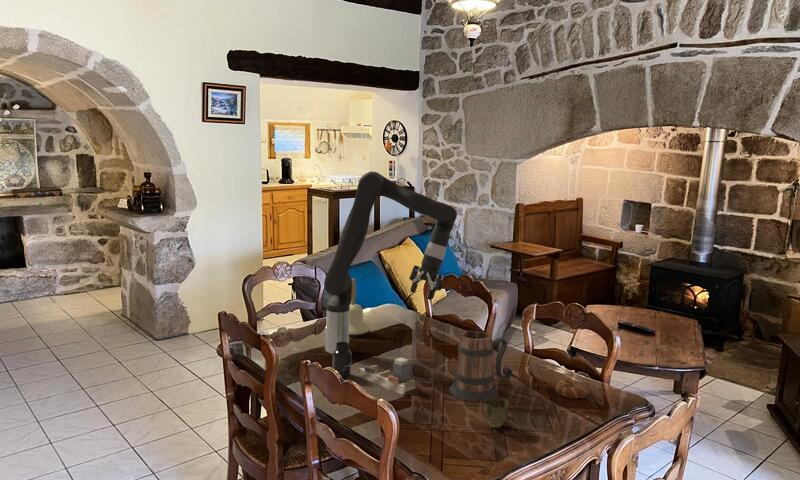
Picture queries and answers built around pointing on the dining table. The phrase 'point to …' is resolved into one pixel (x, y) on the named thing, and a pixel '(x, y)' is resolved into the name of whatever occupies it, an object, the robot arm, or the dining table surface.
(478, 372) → the tankard
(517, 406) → the dining table surface
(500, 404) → the cup
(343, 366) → the supplement bottle
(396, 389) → the dock
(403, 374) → the grey tall block
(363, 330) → the handbell
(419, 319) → the dining table surface
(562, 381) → the bread roll
